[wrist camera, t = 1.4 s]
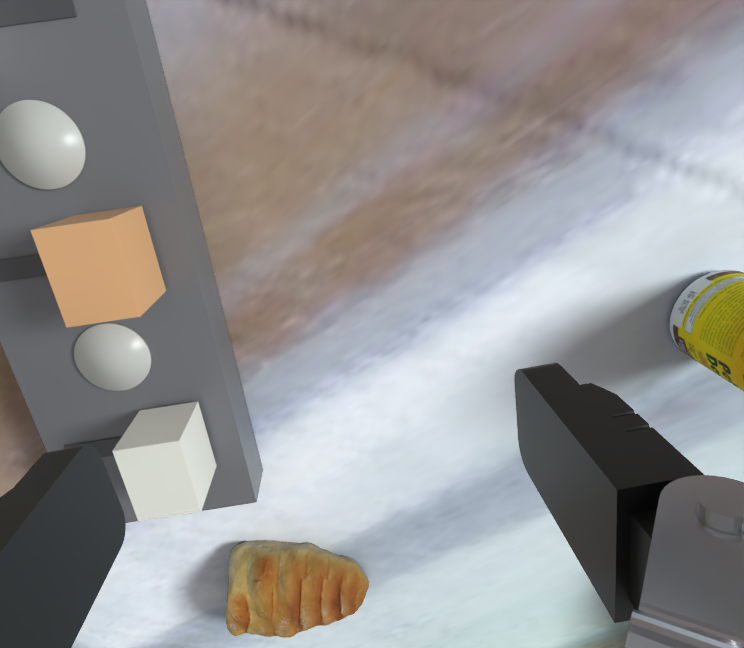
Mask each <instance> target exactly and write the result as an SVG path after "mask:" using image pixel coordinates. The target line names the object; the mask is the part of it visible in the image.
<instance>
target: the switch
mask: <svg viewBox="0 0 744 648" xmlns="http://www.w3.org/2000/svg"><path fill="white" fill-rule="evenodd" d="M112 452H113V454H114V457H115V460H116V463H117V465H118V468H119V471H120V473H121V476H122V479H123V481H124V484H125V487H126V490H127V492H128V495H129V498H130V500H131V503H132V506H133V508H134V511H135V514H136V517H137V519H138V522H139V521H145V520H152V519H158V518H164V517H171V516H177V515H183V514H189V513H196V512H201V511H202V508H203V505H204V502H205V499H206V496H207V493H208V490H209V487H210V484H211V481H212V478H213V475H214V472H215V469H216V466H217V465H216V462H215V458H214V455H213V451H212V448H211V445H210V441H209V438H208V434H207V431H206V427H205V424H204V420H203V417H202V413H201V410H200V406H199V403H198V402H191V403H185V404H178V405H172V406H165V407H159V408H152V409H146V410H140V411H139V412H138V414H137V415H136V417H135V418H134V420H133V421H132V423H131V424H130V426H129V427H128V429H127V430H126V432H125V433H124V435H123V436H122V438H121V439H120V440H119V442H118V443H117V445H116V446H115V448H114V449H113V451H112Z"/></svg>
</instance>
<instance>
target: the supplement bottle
mask: <svg viewBox="0 0 744 648" xmlns="http://www.w3.org/2000/svg"><path fill="white" fill-rule="evenodd" d="M670 332H671V335H672V338H673V340H674V342H675V344H676V345H677V346H678V348H679V349H680V350H681V351H683V352H684V353H685V354H687V355H688V356H690V357H691V358H693V359H694V360H696V361H697V362H699V363H701V364H702V365H704V366H705V367H707V368H708V369H710V370H711V371H713V372H715V373H716V374H718V375H719V376H721V377H722V378H724V379H726V380H727V381H729V382H730V383H732V384H733V385H735V386H736V387H738V388H740V389H741V390H743V391H744V273H743V272H740V271H735V270H722V271H716V272H712V273H709V274H706V275H704V276H702V277H700V278H699V279H697V280H695V281H694V282H693V283H691V284H690V285H689V286H688V287H687V288H686V289H685V290H684V291H683V292H682V293H681V295H680V296H679V298H678V299H677V301H676V303H675V305H674V307H673V310H672V313H671V317H670Z"/></svg>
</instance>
